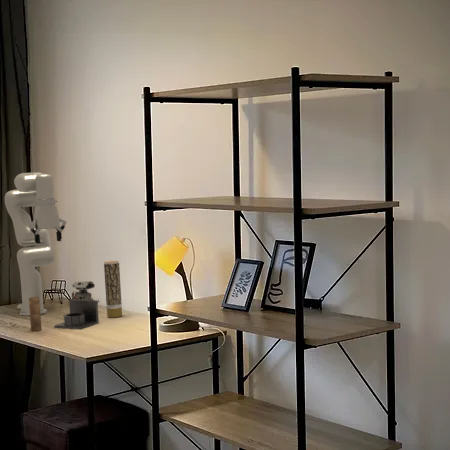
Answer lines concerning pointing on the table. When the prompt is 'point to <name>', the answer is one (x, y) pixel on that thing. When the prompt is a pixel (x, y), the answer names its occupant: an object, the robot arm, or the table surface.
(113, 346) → the table surface
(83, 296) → the figurine
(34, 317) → the brown wooden cylinder
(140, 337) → the table surface
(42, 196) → the robot arm
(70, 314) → the bracket
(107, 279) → the paper tube
